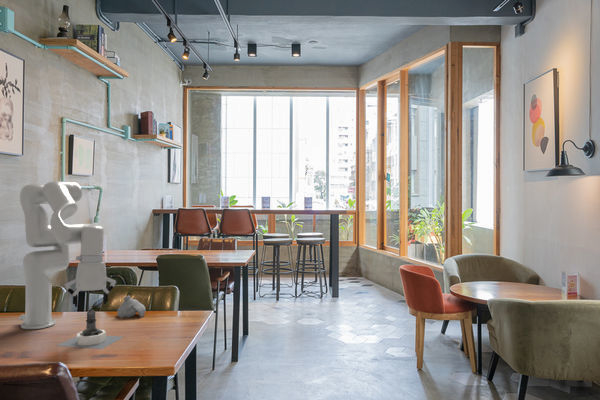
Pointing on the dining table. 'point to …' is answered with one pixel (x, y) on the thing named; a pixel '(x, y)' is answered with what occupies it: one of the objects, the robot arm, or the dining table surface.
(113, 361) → the dining table surface
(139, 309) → the grey clay mound
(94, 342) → the white round dish
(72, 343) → the board
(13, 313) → the dining table surface
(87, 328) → the dark grey chess piece
